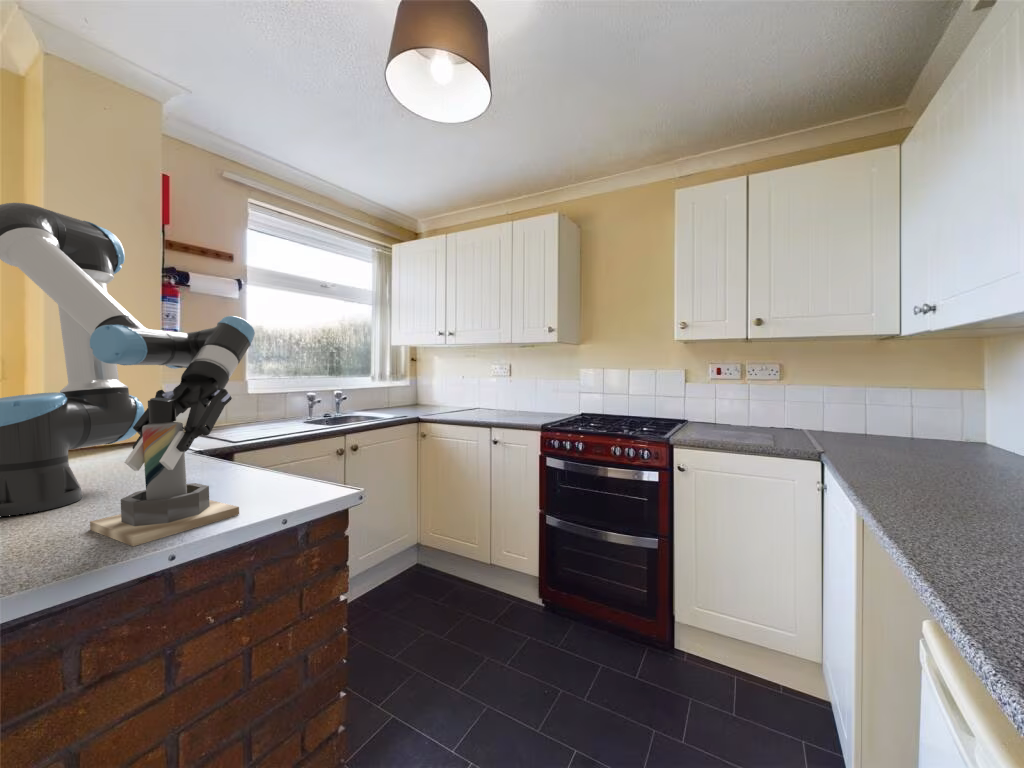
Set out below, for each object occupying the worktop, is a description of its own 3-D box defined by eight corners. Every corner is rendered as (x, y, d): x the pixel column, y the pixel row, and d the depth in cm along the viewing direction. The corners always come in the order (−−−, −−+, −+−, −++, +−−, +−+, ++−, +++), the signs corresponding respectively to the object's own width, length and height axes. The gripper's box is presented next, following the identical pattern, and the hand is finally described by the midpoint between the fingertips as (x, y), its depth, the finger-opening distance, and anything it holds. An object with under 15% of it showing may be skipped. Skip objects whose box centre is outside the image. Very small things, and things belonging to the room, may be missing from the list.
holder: (90, 529, 72) (88, 498, 72) (194, 503, 86) (193, 477, 86) (133, 546, 65) (131, 511, 65) (239, 514, 79) (238, 486, 79)
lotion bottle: (169, 500, 79) (163, 396, 78) (195, 501, 78) (189, 396, 77) (138, 511, 73) (131, 399, 72) (166, 511, 72) (159, 398, 72)
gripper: (261, 383, 91) (213, 476, 75) (176, 384, 90) (109, 478, 74) (246, 358, 85) (191, 452, 69) (155, 359, 84) (78, 455, 68)
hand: (149, 465), depth 71 cm, fingers closed on lotion bottle, 5 cm apart
